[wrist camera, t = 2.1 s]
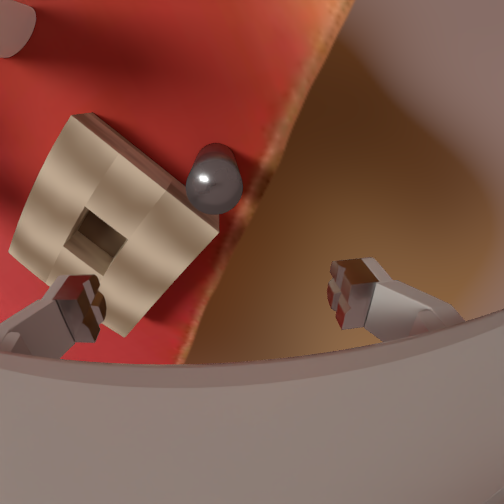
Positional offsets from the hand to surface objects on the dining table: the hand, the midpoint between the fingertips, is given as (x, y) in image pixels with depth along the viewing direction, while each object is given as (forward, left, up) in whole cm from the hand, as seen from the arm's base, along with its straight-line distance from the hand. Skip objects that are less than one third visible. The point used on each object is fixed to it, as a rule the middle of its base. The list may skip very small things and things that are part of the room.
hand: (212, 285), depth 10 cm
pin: (0, 0, -22) cm, 22 cm away
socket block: (-13, +5, -22) cm, 26 cm away
